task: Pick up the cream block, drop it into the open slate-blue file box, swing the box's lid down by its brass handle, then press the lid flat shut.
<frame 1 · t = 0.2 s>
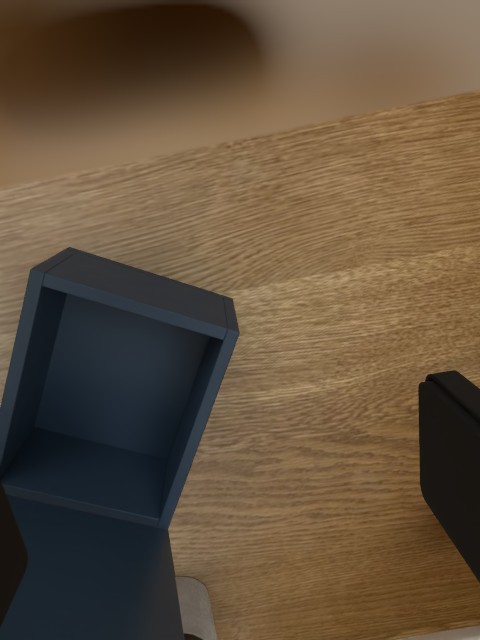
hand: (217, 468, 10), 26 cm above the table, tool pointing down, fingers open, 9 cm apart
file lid: (37, 616, 22), point 17 cm above the table, hinge at 65.0°
house plant: (195, 591, 45), on the table
file box: (126, 364, 36), on the table
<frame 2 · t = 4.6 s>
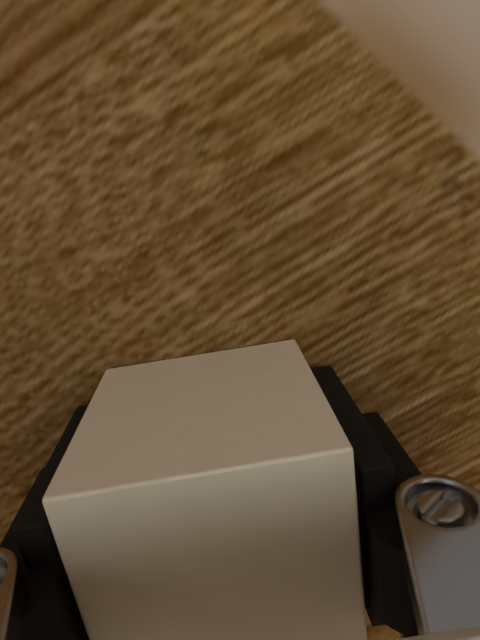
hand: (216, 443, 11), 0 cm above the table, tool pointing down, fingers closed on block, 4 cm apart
block: (215, 435, 11), on the table, touching gripper
when the fingers open (8 cm above the table, at t = 11.9 s): block drops 7 cm, resting on file box.
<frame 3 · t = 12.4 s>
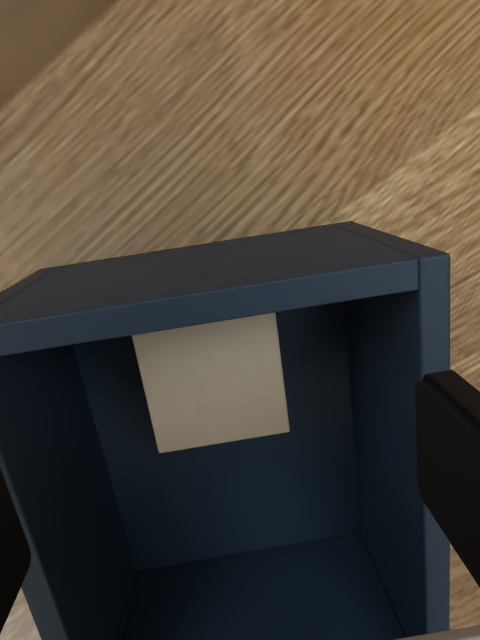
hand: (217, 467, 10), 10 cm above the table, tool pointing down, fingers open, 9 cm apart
block: (212, 336, 19), point 1 cm above the table, touching file box
file box: (226, 416, 21), on the table
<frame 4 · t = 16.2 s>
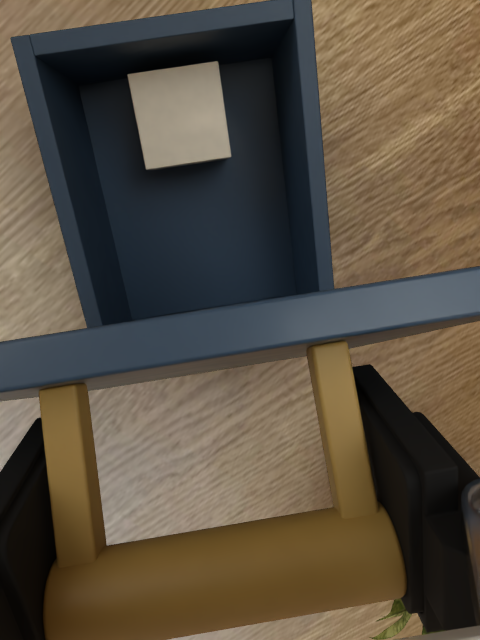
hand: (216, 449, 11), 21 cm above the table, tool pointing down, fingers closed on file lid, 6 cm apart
block: (184, 125, 27), point 1 cm above the table, touching file box
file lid: (222, 425, 15), point 17 cm above the table, hinge at 65.0°, touching gripper
house plant: (399, 450, 36), on the table
file box: (196, 197, 29), on the table
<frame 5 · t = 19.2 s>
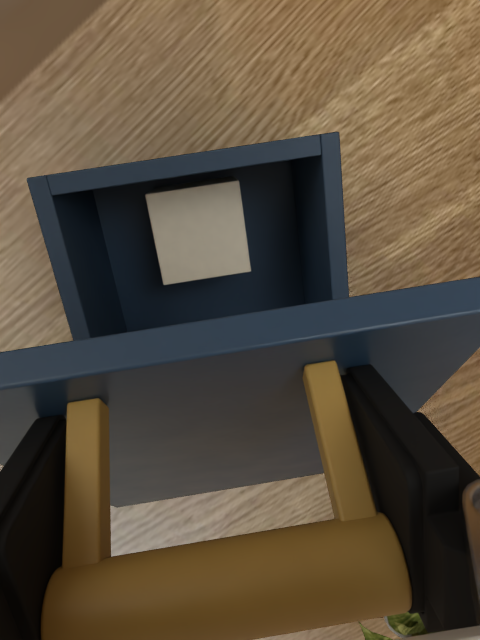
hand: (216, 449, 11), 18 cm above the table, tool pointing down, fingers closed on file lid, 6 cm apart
block: (200, 221, 26), point 1 cm above the table, touching file box
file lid: (235, 511, 15), point 15 cm above the table, hinge at 41.6°, touching gripper
house plant: (411, 520, 36), on the table
file box: (211, 287, 28), on the table
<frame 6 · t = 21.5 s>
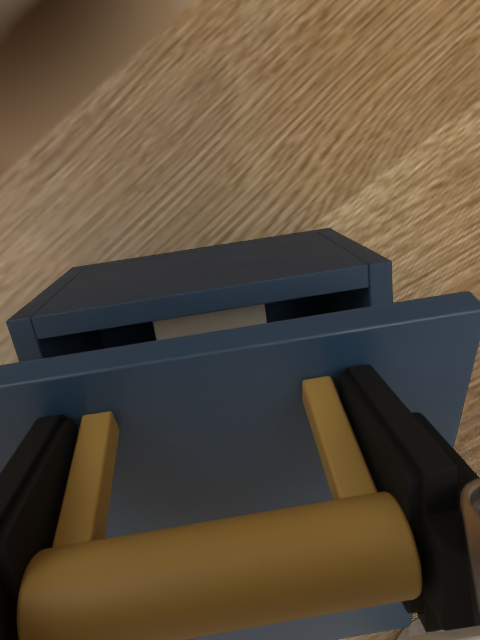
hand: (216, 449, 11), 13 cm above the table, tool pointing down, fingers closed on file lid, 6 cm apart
block: (214, 323, 23), point 1 cm above the table, touching file box
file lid: (249, 619, 13), point 13 cm above the table, hinge at 15.9°, touching gripper
house plant: (445, 627, 32), on the table
file box: (226, 389, 25), on the table
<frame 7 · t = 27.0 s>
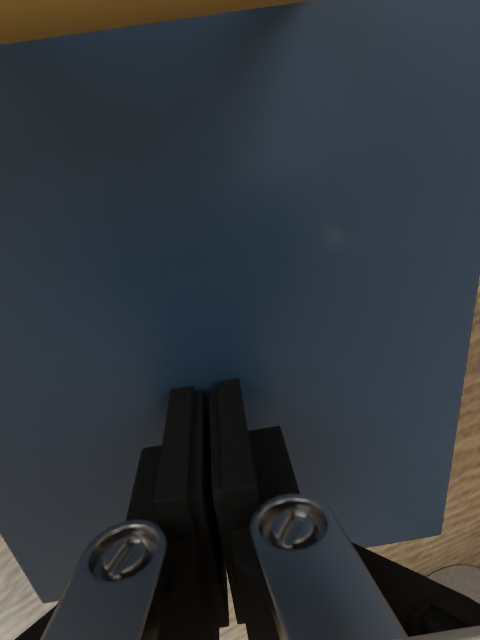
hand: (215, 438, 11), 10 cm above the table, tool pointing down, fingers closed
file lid: (202, 408, 9), point 12 cm above the table, hinge at 10.7°, touching gripper
house plant: (469, 582, 27), on the table
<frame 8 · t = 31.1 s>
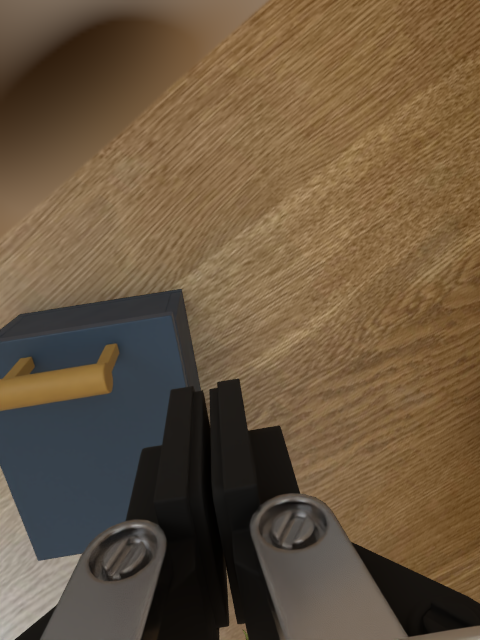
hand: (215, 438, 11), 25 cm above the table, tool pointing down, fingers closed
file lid: (91, 469, 27), point 11 cm above the table, hinge at 2.1°
file box: (123, 391, 38), on the table
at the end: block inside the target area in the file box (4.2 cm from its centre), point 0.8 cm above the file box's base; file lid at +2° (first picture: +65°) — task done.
